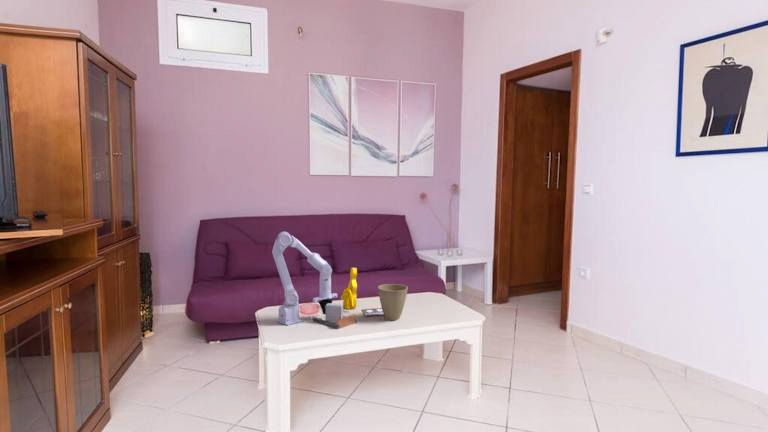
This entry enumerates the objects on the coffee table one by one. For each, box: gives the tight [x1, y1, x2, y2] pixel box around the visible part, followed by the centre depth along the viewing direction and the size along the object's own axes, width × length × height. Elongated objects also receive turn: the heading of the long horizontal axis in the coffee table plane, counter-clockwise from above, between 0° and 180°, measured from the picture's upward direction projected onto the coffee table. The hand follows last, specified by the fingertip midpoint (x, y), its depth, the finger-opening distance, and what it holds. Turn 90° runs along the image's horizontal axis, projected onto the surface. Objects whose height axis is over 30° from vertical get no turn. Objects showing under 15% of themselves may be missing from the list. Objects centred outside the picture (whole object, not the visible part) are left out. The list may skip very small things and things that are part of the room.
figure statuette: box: [340, 267, 358, 310], centre depth 238 cm, size 18×8×22 cm, turn 26°
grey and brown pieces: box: [312, 314, 358, 330], centre depth 214 cm, size 12×18×4 cm
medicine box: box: [325, 302, 344, 324], centre depth 214 cm, size 8×4×9 cm, turn 85°
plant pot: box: [377, 283, 409, 321], centre depth 220 cm, size 15×15×16 cm
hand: (325, 314), depth 219 cm, fingers closed
